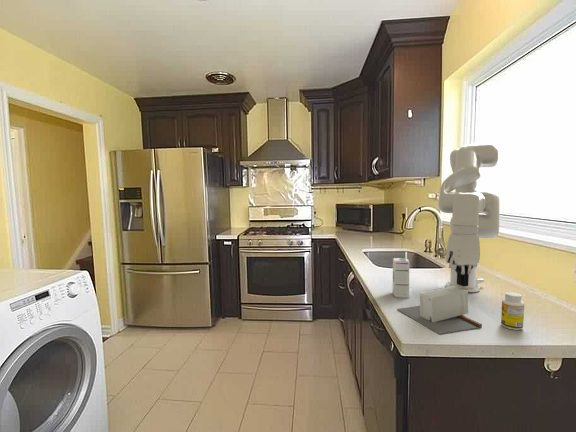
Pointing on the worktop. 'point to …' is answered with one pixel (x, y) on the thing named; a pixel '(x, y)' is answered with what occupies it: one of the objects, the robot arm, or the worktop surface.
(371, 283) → the worktop surface
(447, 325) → the mat
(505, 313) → the supplement bottle
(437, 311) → the skincare box
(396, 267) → the syrup box
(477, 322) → the rail
